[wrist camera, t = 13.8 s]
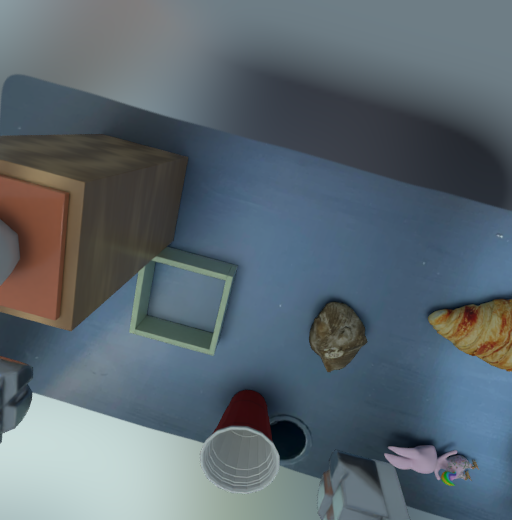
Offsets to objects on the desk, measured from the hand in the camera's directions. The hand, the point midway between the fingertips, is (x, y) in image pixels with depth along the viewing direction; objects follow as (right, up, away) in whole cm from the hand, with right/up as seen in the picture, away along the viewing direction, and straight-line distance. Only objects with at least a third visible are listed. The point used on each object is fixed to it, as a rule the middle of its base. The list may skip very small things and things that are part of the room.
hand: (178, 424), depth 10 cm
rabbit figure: (+30, -26, +52) cm, 65 cm away
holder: (-8, -1, +47) cm, 48 cm away
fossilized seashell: (+14, -6, +46) cm, 49 cm away
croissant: (+36, -5, +43) cm, 57 cm away
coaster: (-17, +6, +18) cm, 25 cm away
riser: (-14, +14, +43) cm, 47 cm away
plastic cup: (+1, -19, +52) cm, 56 cm away
